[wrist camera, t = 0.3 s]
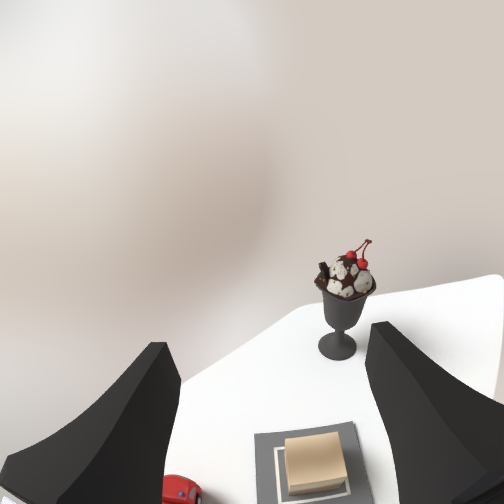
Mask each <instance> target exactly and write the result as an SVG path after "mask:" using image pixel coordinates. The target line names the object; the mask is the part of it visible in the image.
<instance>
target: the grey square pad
mask: <svg viewBox="0 0 504 504" xmlns="http://www.w3.org/2000/svg"><path fill="white" fill-rule="evenodd" d="M337 431H338V435H339V440H340V444H341V449H342V453H343V458H344V462H345V467H346V472H347V477H346V479H345V480H344V482H343V483H342V484H341V486H340V487H339V488H336V489H331V490H325V491H319V492H313V493H306V494H299V495H290V496H289V495H288V484H287V474H286V464H285V439H289V438H297V437H305V436H313V435H319V434H326V433H332V432H337ZM254 439H255V463H256V486H257V504H373V501H372V496H371V492H370V488H369V483H368V479H367V475H366V471H365V467H364V463H363V459H362V455H361V451H360V447H359V443H358V439H357V435H356V432H355V428H354V424H353V421H351V422H346V423H341V424H335V425H329V426H323V427H316V428H309V429H302V430H293V431H284V432H273V433H260V434H254Z"/></svg>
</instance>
